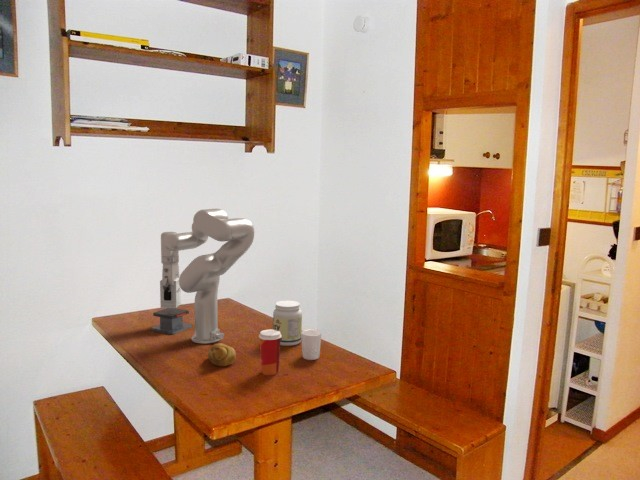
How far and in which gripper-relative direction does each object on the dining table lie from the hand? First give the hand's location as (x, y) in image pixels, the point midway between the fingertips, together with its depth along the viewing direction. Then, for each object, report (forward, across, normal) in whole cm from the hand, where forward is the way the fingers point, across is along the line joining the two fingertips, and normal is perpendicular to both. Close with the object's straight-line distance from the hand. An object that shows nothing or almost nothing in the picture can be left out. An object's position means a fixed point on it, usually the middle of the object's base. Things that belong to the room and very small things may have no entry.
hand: (170, 297), depth 236 cm
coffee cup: (+14, -46, -52) cm, 71 cm away
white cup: (+14, -29, -66) cm, 74 cm away
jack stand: (+14, 0, 0) cm, 14 cm away
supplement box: (+4, 0, 0) cm, 4 cm away
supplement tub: (+14, -12, -55) cm, 58 cm away
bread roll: (+15, -38, -32) cm, 52 cm away
